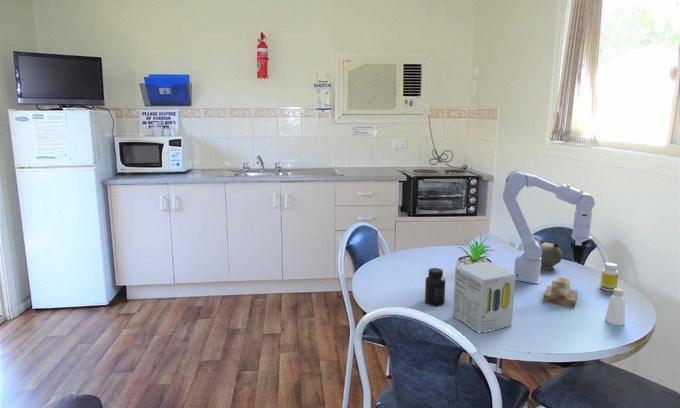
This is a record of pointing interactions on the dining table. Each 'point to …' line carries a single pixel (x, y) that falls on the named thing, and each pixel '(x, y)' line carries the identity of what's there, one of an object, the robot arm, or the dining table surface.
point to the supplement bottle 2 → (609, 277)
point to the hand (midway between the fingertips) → (578, 259)
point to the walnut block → (561, 298)
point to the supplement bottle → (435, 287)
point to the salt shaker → (616, 308)
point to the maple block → (560, 286)
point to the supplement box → (484, 296)
